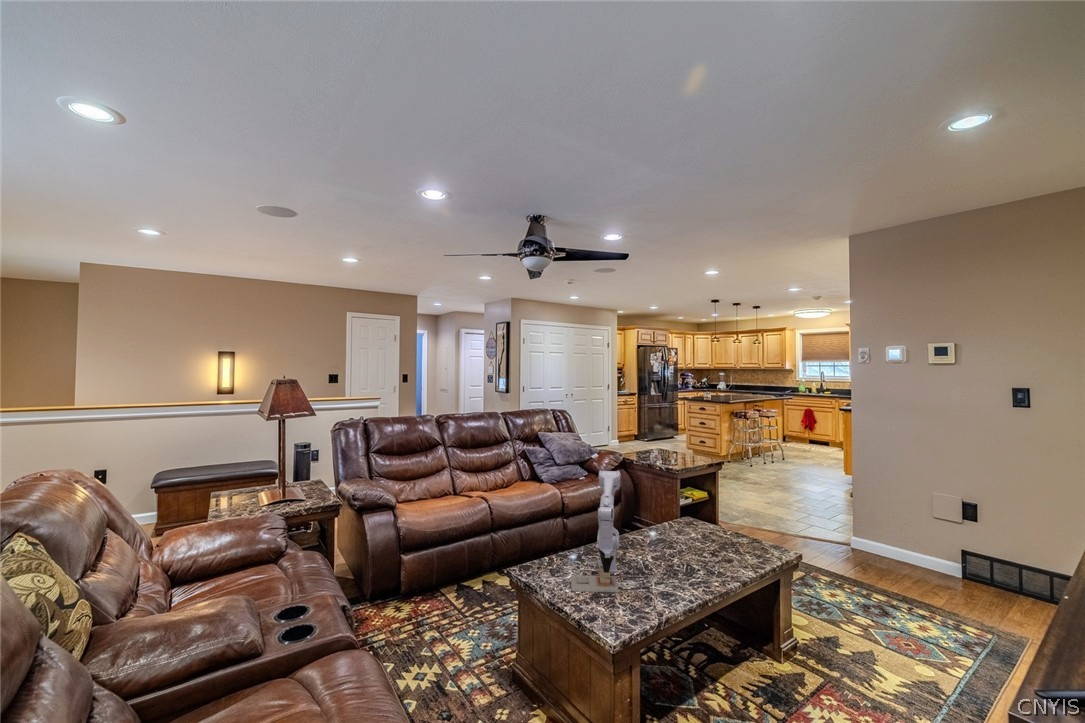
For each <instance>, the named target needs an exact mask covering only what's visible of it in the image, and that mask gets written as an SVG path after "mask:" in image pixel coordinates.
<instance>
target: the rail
mask: <svg viewBox="0 0 1085 723" xmlns="http://www.w3.org/2000/svg"><path fill="white" fill-rule="evenodd" d="M570 585H571V592H585V593H586V592H589V593H591V592H594V593H619V586H618V582H617V579H616V576H614V575H613V576H611V575H610V584H599V575H581V574H580V575H576V574H575V575H574V574H571V575H570Z"/></svg>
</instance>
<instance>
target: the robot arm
mask: <svg viewBox="0 0 1085 723" xmlns="http://www.w3.org/2000/svg"><path fill="white" fill-rule="evenodd" d="M598 485H599V488H600V489H602V490H603V494H602V495H601V496H600V500H599V503H600V504H599V507H598V508H597V519H598V520H597V521H598V531H597V539H596V540H597V541H596V545H595V548H596V549H597V550H598V551H599V561H598V562H597V565H598V568H599V570H600V565H603V571H604V573H609V571H610V573H618V568H617V550H618V549H619V548H620V532H619V531H618V529H616V528H615V527H614V520H615V509H614V504H615V493H616V491H617V490H619V489H620V485H621V473H620V471H619V470H618V471H617V470H616V471H615V470H614V471H613V470H599V471H598Z"/></svg>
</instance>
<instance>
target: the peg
mask: <svg viewBox="0 0 1085 723" xmlns="http://www.w3.org/2000/svg"><path fill="white" fill-rule="evenodd" d="M598 576H599V584H611V583H610V576H611V572H610V571H609V573H604V571H603V565H600V569H599V575H598Z"/></svg>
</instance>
